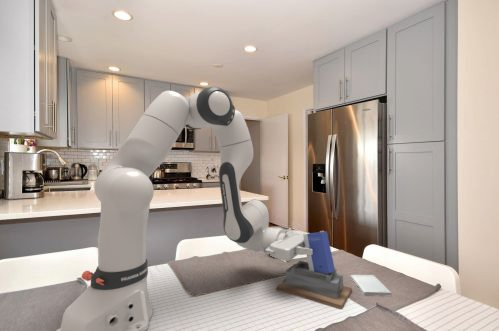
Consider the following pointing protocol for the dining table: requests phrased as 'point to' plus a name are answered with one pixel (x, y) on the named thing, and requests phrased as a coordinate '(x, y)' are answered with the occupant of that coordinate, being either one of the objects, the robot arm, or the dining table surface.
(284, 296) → the dining table surface
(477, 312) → the dining table surface
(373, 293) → the hard drive
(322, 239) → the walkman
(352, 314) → the dining table surface
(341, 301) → the dock
